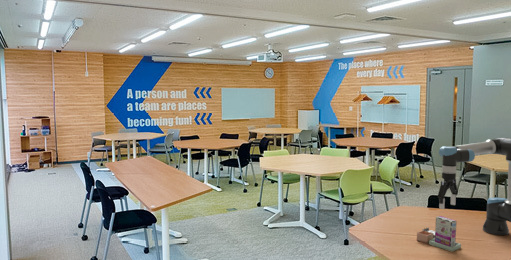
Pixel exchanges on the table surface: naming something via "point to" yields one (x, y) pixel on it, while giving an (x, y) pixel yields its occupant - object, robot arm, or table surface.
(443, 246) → the pale green shallow tray
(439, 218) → the candy bar box
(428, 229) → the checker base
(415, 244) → the table surface
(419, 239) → the terracotta square pot
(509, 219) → the robot arm
